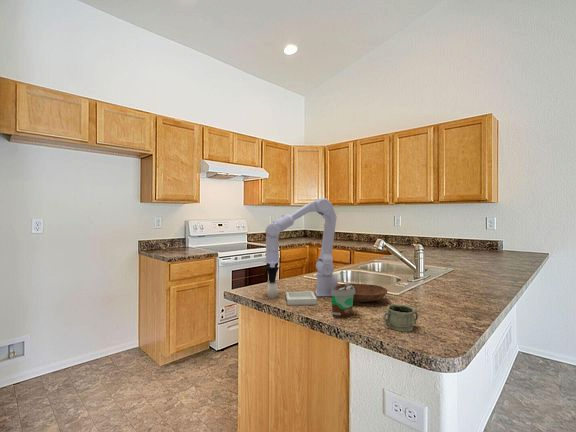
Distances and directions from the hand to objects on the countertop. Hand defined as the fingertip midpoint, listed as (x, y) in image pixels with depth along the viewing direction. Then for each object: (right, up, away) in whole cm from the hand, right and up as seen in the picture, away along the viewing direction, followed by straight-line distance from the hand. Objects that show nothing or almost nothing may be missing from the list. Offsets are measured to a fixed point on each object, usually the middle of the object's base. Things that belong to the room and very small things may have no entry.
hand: (272, 280), depth 136 cm
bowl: (+39, -7, -6) cm, 40 cm away
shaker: (0, -7, 0) cm, 7 cm away
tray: (+13, -7, -7) cm, 16 cm away
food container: (+29, -8, -24) cm, 38 cm away
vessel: (+44, -8, -36) cm, 58 cm away
